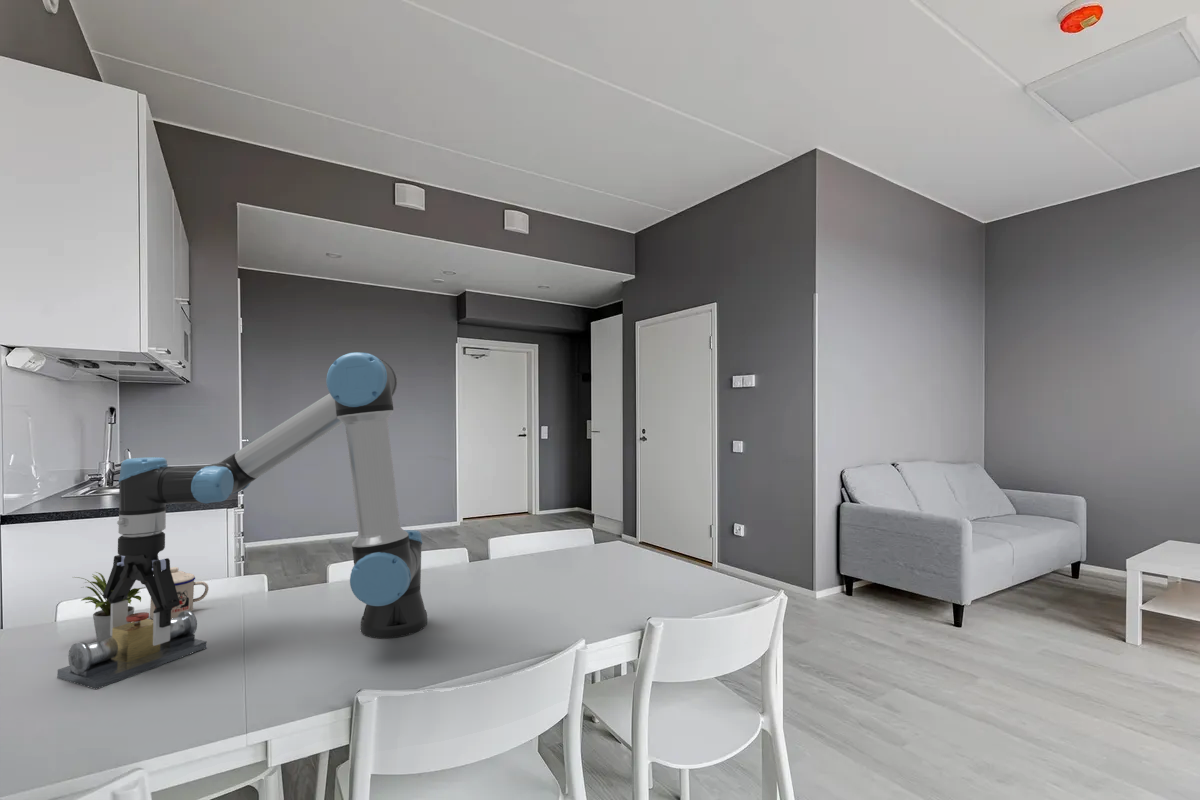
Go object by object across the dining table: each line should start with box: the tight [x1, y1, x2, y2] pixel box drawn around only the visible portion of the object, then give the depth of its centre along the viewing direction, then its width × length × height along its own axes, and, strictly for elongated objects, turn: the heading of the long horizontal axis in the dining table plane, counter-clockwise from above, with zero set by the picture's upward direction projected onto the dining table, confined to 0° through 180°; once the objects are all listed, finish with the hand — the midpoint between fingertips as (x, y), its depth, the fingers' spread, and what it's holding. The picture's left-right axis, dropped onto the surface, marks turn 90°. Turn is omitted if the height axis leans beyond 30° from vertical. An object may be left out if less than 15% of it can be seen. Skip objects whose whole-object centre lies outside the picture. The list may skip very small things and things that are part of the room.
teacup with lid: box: [149, 566, 209, 620], centre depth 143 cm, size 12×9×12 cm
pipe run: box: [57, 610, 207, 690], centre depth 115 cm, size 20×12×7 cm, turn 159°
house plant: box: [73, 571, 146, 642], centre depth 125 cm, size 14×14×16 cm
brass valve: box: [112, 611, 160, 662], centre depth 115 cm, size 6×5×8 cm
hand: (139, 638), depth 115 cm, fingers open, 13 cm apart
